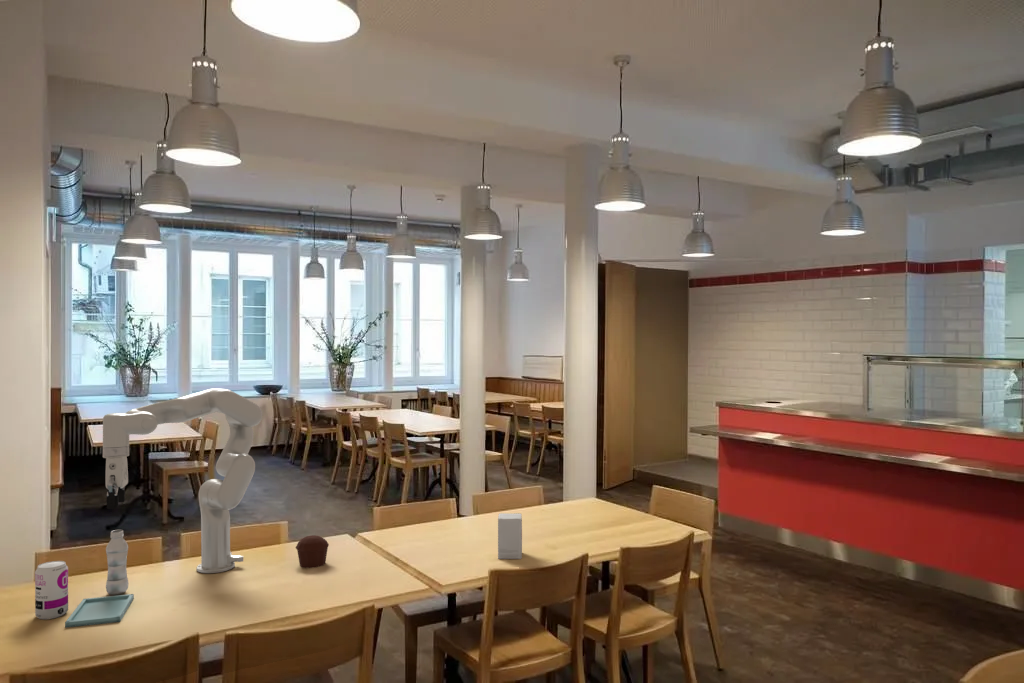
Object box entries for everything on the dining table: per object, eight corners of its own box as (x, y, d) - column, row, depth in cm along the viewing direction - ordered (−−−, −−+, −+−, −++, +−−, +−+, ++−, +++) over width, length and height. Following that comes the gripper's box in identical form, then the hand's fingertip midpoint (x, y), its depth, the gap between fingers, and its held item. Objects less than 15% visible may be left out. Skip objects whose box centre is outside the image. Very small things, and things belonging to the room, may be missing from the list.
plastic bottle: (103, 598, 230) (102, 534, 230) (109, 591, 237) (108, 529, 237) (125, 595, 232) (125, 533, 232) (130, 589, 239) (130, 527, 239)
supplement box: (522, 559, 268) (521, 518, 268) (497, 559, 269) (497, 518, 269) (522, 552, 278) (522, 512, 278) (498, 552, 278) (498, 512, 278)
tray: (133, 598, 230) (133, 593, 230) (120, 621, 211) (120, 616, 211) (83, 603, 226) (83, 598, 226) (65, 627, 206) (65, 622, 206)
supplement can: (73, 609, 221) (73, 560, 221) (57, 620, 212) (57, 568, 212) (46, 610, 220) (46, 560, 220) (29, 620, 212) (28, 568, 212)
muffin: (333, 560, 269) (333, 533, 269) (322, 569, 258) (322, 541, 258) (302, 559, 270) (302, 532, 270) (290, 568, 259) (290, 540, 259)
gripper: (123, 455, 227) (123, 510, 227) (134, 447, 244) (134, 499, 244) (96, 456, 225) (96, 511, 225) (109, 448, 242) (108, 500, 242)
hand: (115, 505), depth 234 cm, fingers open, 9 cm apart
